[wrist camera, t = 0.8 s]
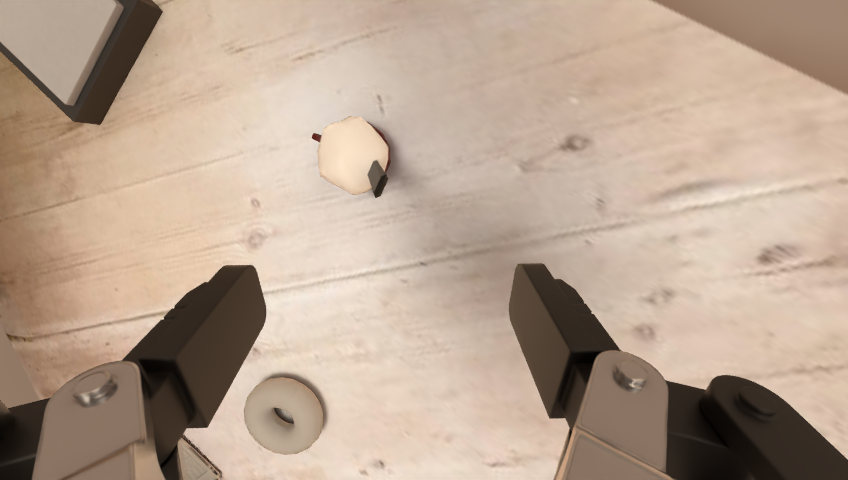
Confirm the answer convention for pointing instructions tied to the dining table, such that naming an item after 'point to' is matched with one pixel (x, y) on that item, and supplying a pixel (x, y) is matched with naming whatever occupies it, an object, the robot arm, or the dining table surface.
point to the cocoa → (354, 156)
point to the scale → (76, 48)
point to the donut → (273, 428)
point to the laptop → (197, 464)
